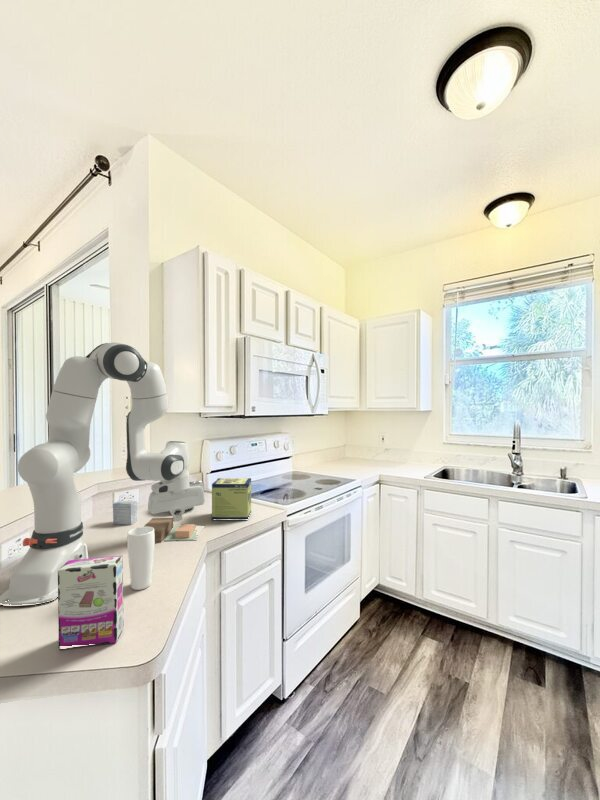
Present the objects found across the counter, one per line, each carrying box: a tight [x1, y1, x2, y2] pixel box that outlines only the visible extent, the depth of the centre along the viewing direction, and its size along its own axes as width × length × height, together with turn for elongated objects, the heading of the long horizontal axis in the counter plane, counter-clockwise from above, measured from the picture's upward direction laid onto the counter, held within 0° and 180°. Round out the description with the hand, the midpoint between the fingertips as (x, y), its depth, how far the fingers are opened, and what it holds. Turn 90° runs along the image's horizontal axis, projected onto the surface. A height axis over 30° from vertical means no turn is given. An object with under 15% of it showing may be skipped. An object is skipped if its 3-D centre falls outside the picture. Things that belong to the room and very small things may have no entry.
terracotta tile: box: [175, 523, 196, 538], centre depth 130 cm, size 7×5×2 cm
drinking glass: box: [126, 525, 155, 591], centre depth 95 cm, size 7×7×15 cm
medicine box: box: [112, 500, 138, 526], centre depth 143 cm, size 8×4×9 cm, turn 84°
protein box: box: [211, 477, 252, 520], centre depth 151 cm, size 10×16×16 cm
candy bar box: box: [57, 555, 124, 647], centre depth 74 cm, size 11×5×16 cm, turn 101°
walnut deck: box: [143, 517, 174, 543], centre depth 130 cm, size 14×8×4 cm, turn 3°
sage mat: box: [163, 524, 199, 542], centre depth 132 cm, size 14×12×1 cm
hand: (177, 520), depth 131 cm, fingers closed
